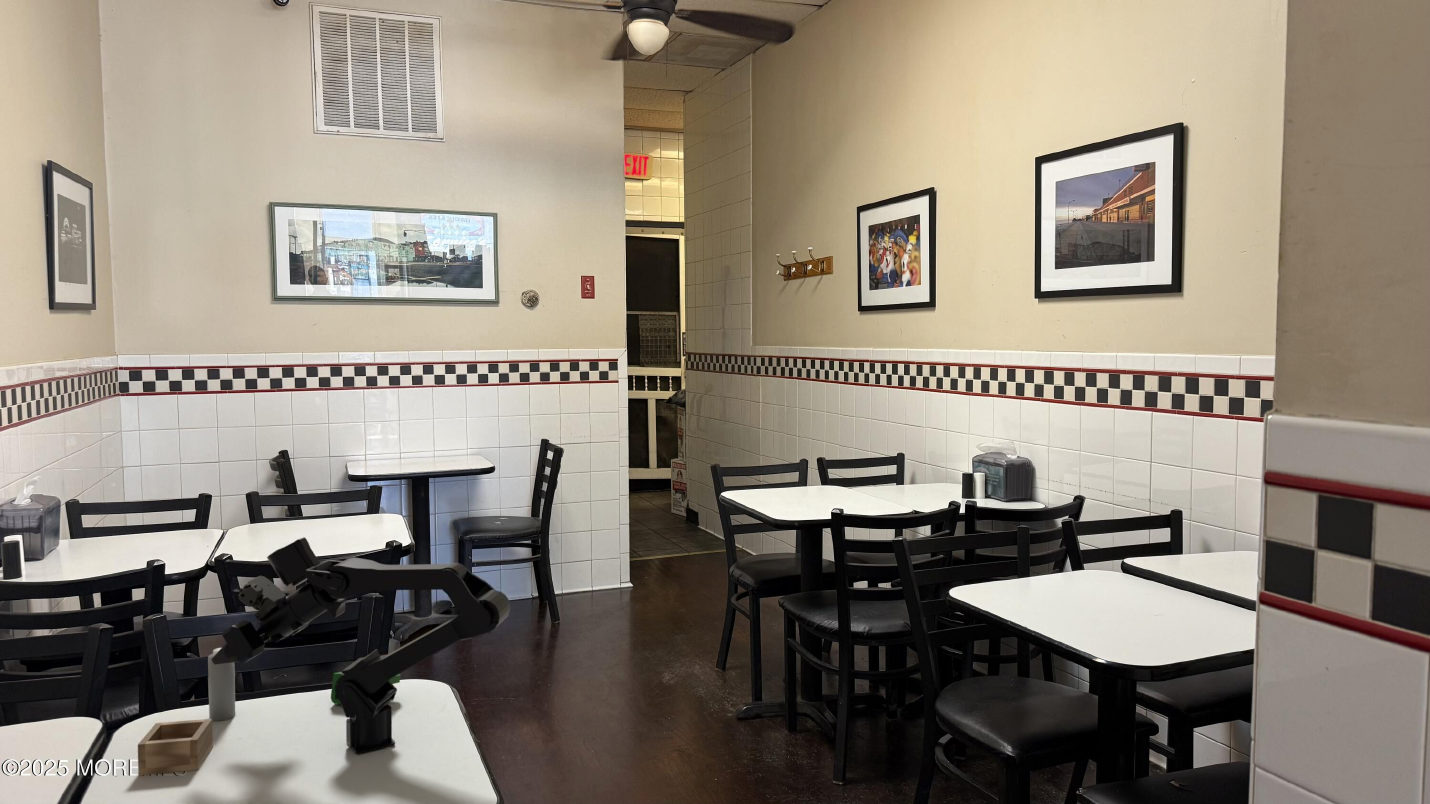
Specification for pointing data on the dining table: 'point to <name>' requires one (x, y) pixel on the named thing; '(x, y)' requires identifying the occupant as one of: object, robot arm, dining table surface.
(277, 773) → the dining table surface
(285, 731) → the dining table surface
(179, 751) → the end holder
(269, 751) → the dining table surface
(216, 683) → the white rounded cylinder
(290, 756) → the dining table surface
